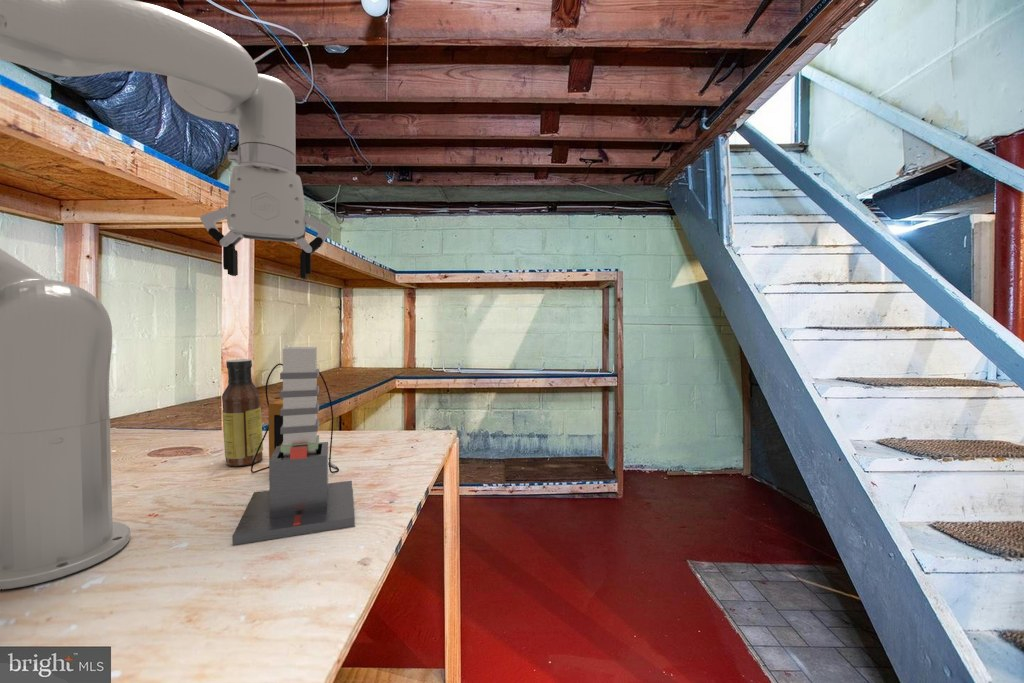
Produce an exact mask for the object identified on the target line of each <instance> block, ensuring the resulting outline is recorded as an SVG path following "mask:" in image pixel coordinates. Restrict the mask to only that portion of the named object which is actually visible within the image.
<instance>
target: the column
mask: <svg viewBox="0 0 1024 683" xmlns="http://www.w3.org/2000/svg"><path fill="white" fill-rule="evenodd" d="M317 351H318V350H317V346H286V347H284V348H282V364H283V366H282V371H281V372H280V373H279V379H280V380H282V389H281V390H280V392H279V397H280V398H281V399H282V400H283V407H282V408H281V410H280V416H283V425H282V427H281V428H280V434H283V442H282V445H281V452H283V458H287V457H290V448H291V447H300V446H307V456H309V455H317V449H318V445H319V443H320V435H318V432H319V426H320V418H318V413H319V410H320V402H319V401H318V399H317V398H318V397H319V396H318V395H319V394H320V393H319V392H320V385H317V384H318V381H317V380H318V378H319V377H320V374H319V372H320V368H317V366H318V363H317V362H318V356H317V354H318V352H317Z"/></svg>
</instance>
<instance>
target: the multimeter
mask: <svg viewBox="0 0 1024 683" xmlns="http://www.w3.org/2000/svg"><path fill="white" fill-rule="evenodd" d="M278 366H282V367H283V363H277V364H276V365H274V366H273V368H272V369H271V371H270V372H269V374H268V376H267V378H266V382H265V397H266V398H265V399H266V405H267V408H268V409H267V410H268V426H267V428H266V430H265V433H264V435H263V436H262V441H261V443H260V445H259V448H258V450H257V452H256V454H255V457H254V459H253V462H252V464H251V466H250V472H251V474H255V473H258V472H260V471H263V470H266V469H269V466H266V467H262V468H260V469H257V470H254V471H253V469H254V464H255V463H254V461H255V459H256V456H257V454H258V451H259V449H260V447H261V445H262V442H264V440H265V438H266V436H267V433H268V461H269V460H270V458H271V456H272V454H273V452H274V450H275V448H276V446H281V445H282V442H283V434H280V428H281V427H282V425H283V416H280V410H281V408H282V407H283V399H282V400H281V399H280V400H277V401H273V402H269V397H268V396H269V395H268V384H269V381H270V378H271V375H272V373H273V372H274V370H275V369H276V368H277V367H278ZM319 377H320V378H321V379H322V381H323V384H324V386H325V389H326V392H327V397H328V399H329V400H328V402H329V406H330V411H331V412H330V414H331V429H330V431H331V432H330V445H329V453H328V471H329V472H330V473H331V474H335V473H338V472H339V471H340V468H339V467H338V466H337V465H336V464H334V463H333V462H331V461H332V446H333V433H334V413H333V412H334V410H333V404H332V398H331V394H330V392H329V389H328V385H327V383H326V380H325V378H324V376H323V375H322V373H321V372H320V371H319ZM331 467H332V468H334V469H336V470H334V471H332V469H331Z"/></svg>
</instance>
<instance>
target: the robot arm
mask: <svg viewBox="0 0 1024 683" xmlns="http://www.w3.org/2000/svg"><path fill="white" fill-rule="evenodd" d="M0 60H1V61H6V62H9V63H10V62H11V63H14V64H17V65H20V66H24V67H27V68H31V69H34V70H38V71H42V72H45V73H49V74H52V75H57V76H61V77H88V76H89V77H90V76H96V75H102V74H107V73H116V72H140V73H149V74H156V75H161V76H166V77H167V78H166V84H167V88H168V91H169V94H170V95H171V97H172V99H173V100H174V101H175V102H176V104H178V105H179V106H180V107H181V108H182V109H183V110H185V111H186V112H188V113H189V114H191V115H194V116H196V117H198V118H201V119H205V120H210V121H214V122H217V123H218V122H220V123H225V124H230V125H236V126H238V138H239V139H238V145H237V149H236V151H233V152H232V151H227V160H228V162H233V163H235V164H237V165H234V166H233V167H232V169H231V172H230V173H231V174H230V180H229V184H228V185H229V186H228V195H227V196H228V197H227V206H225V207H222V208H219V209H216V210H213V211H211V212H207V213H205V214H202V215H200V219H199V220H200V221H201V222H202V225H203V226H204V228H205V229H206V231H207V232H208V234H209V235H210V237H212V238H213V240H214V241H216V242H217V243H218V244H220V246H221V247H222V263H223V264H222V265H223V267H222V268H223V269H224V270H225V271H226V270H227V274H228V276H231V277H237V276H238V275H239V271H238V270H239V268H238V266H239V264H238V263H239V260H238V256H239V254H238V250H237V249H236V246H237V245H238V244H239V243H240V242H241V241H242V240H243V239H249V240H260V241H271V242H283V243H285V242H286V243H296V244H297V246H299V248H300V249H301V253H299V266H300V267H299V268H300V269H299V270H300V271H299V272H300V273H299V274H300V275H299V276H300V278H301V279H302V280H308V279H307V278H308V277H307V275H312V255H313V254H314V253H315V252H316V251H317V250H318V249H319V248H321V247H322V246H323V245H324V243H325V241H326V239H327V237H328V236H329V235H330V227H328V225H327V226H326V225H325V224H324V223H321V222H320V221H318V220H316V219H314V218H313V217H311V216H310V215H307V214H306V210H305V207H306V206H305V198H304V196H305V195H304V189H303V188H304V187H303V184H302V183H303V182H302V179H301V177H300V175H298V174H297V164H296V163H297V162H296V161H297V160H296V159H297V158H296V156H297V155H296V152H297V151H296V143H297V142H296V98H295V94H294V92H293V90H292V89H291V88H290V86H289V85H287V84H286V83H285V82H284V81H283V80H280V79H279V78H276V77H274V76H270V75H268V74H264V73H258V68H257V66H256V63H255V61H254V59H253V58H252V56H251V55H250V54H249V52H248V51H247V50H246V49H245V48H244V46H242V45H241V44H240V43H238V42H237V41H236V40H234V39H233V38H232V37H230V36H228V35H226V34H225V33H223V32H222V31H220V30H217V29H215V28H213V27H212V26H209V25H207V24H205V23H203V22H200V21H199V20H196V19H193V18H191V17H189V16H186V15H183V14H181V13H179V12H176V11H174V10H171V9H168V8H165V7H162V6H159V5H157V4H156V5H155V4H152V3H148V2H143V1H140V0H0ZM224 220H226V222H227V223H226V224H227V228H228V230H229V231H228V232H227V233H226V234H225V235H224V234H223V233H222V232H221V231H220V230H219V228H218V227H217V223H218V222H221V221H224ZM306 226H308V227H310V228H312V229H314V230H315V231H317V235H316V237H315V238H314V239H313V240H311V241H310V242H308V241H307V240H306ZM112 327H113V326H112V322H111V318H110V315H109V313H108V311H107V309H106V308H105V306H104V304H102V302H101V301H100V300H99V299H98V298H97V297H96V296H94V295H93V294H92V293H91V292H89V291H88V290H85V289H84V288H82V287H80V286H77V285H75V284H72V283H69V282H65V281H61V280H55V279H48V278H46V277H45V276H44V275H41V274H40V273H38V272H37V271H36V270H34V269H33V268H31V267H29V266H27V264H25V263H24V262H21V261H20V260H19V259H18V258H15V257H14V256H12V255H11V254H9V253H8V252H7V251H5V250H3V249H2V248H0V590H1V589H2V590H10V589H16V588H23V587H29V586H32V585H37V584H42V583H44V582H49V581H52V580H56V579H60V578H63V577H65V576H69V575H71V574H74V573H77V572H80V571H82V570H85V569H87V568H90V567H92V566H94V565H96V564H99V563H101V562H103V561H104V560H106V559H108V558H110V557H112V556H114V555H115V554H116V553H118V552H119V551H121V550H122V549H123V548H124V547H125V546H126V545H127V544H128V543H129V541H130V539H131V530H130V527H129V525H127V524H125V523H123V522H122V523H121V522H119V521H117V522H116V521H113V495H112V494H113V491H112V488H113V487H112V456H111V455H112V454H111V450H112V449H111V447H112V446H111V417H110V371H111V369H110V368H111V360H112V347H113V328H112Z"/></svg>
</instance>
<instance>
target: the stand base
mask: <svg viewBox="0 0 1024 683" xmlns="http://www.w3.org/2000/svg"><path fill="white" fill-rule="evenodd" d="M328 458H329V441H323V442H320V441H319V445H318V449H317V455H309V456H307V446H300V447H291V448H290V457H287V458H283V452H281V446H276V448H275V450H274V452H273V454H272V456H271V458H270V460H269V459H268V467H269V468H268V470H269V471H268V473H269V475H268V476H269V478H268V480H269V482H268V483H269V485H268V486H269V490H262V491H254V492H253V493H252V495H251V497H250V499H249V501H248V503H247V506H246V508H245V509H244V511H243V514H242V516H241V518H240V520H239V522H238V523H237V526H236V527H235V530H234V532H233V534H232V546H238V545H245V544H249V543H256V542H262V541H270V540H276V539H282V538H288V537H294V536H295V537H297V536H301V535H308V534H314V533H320V532H326V531H332V530H338V529H344V528H349V527H350V528H351V527H355V523H356V522H355V506H354V493H353V492H354V491H353V480H344V481H337V482H331V483H330V482H329V465H328V462H329V459H328Z"/></svg>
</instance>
